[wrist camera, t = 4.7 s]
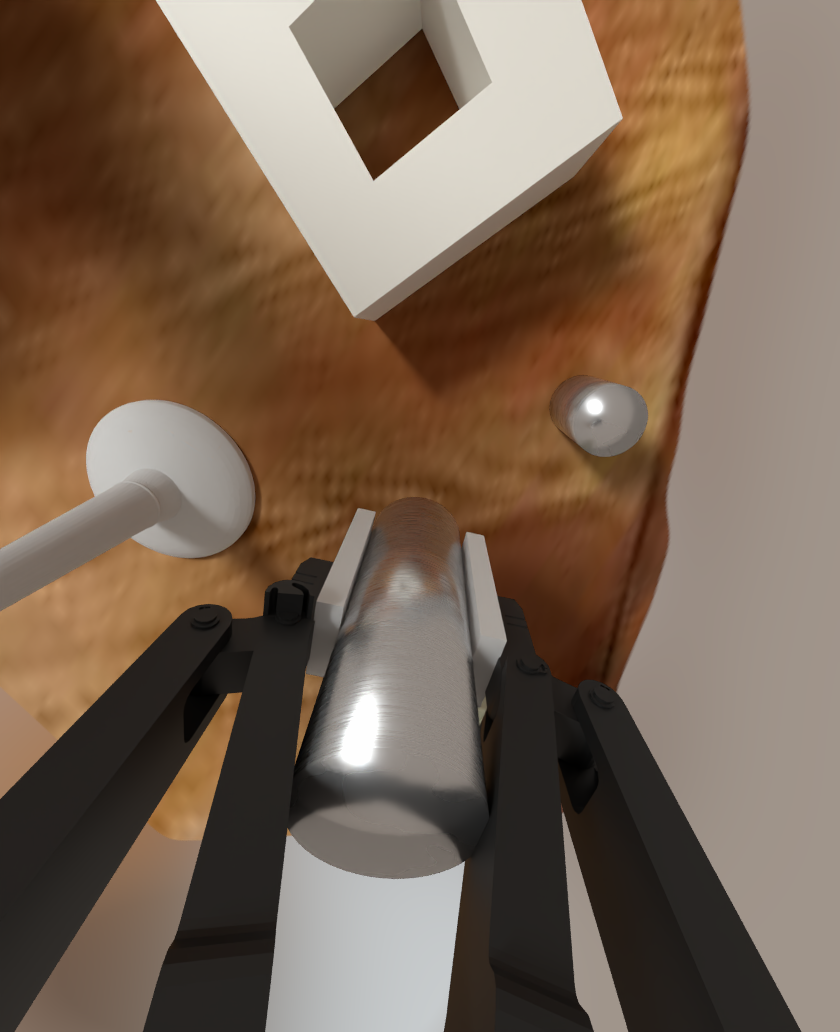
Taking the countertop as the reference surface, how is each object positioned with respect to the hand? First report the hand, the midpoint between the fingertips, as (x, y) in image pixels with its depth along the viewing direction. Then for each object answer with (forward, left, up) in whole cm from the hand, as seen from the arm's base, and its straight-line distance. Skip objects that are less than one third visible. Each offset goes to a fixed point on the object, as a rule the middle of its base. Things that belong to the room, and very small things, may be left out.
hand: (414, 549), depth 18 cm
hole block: (-17, +9, -14) cm, 24 cm away
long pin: (0, 0, -1) cm, 1 cm away
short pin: (+2, +11, -14) cm, 18 cm away
